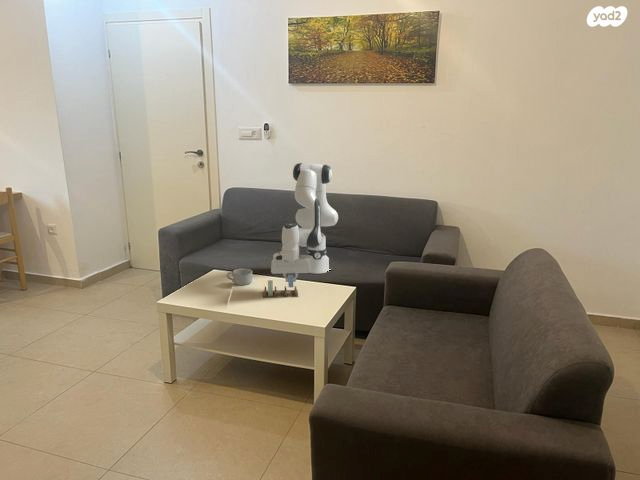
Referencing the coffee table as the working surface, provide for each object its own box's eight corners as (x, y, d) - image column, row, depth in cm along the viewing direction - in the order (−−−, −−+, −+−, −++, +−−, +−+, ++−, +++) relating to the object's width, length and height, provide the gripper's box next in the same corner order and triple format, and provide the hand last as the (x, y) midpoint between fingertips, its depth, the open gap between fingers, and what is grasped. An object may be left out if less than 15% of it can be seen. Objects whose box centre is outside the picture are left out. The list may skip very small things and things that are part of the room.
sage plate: (268, 292, 243) (268, 280, 242) (272, 292, 243) (272, 280, 242) (268, 295, 238) (267, 283, 236) (272, 295, 238) (272, 283, 236)
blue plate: (288, 284, 243) (288, 272, 242) (292, 284, 243) (292, 272, 242) (288, 287, 238) (288, 275, 236) (293, 287, 238) (293, 275, 237)
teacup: (254, 282, 264) (254, 268, 262) (250, 288, 253) (249, 274, 252) (230, 281, 265) (230, 268, 264) (225, 287, 255) (224, 273, 253)
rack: (263, 292, 246) (263, 286, 245) (297, 291, 248) (297, 285, 247) (262, 299, 234) (262, 293, 234) (298, 299, 236) (298, 292, 235)
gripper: (310, 253, 241) (310, 279, 244) (270, 254, 239) (271, 280, 242) (311, 256, 235) (311, 282, 238) (270, 256, 233) (271, 283, 236)
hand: (290, 281), depth 240 cm, fingers closed on blue plate, 2 cm apart
